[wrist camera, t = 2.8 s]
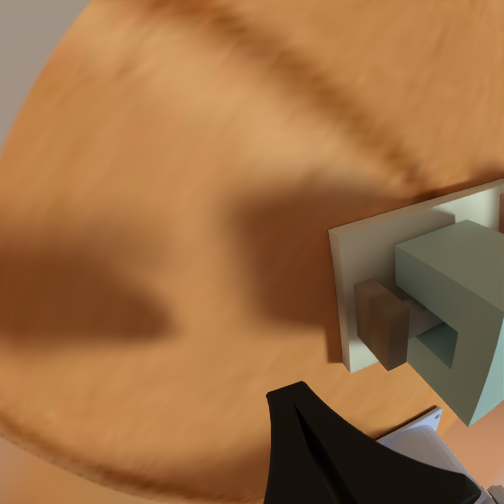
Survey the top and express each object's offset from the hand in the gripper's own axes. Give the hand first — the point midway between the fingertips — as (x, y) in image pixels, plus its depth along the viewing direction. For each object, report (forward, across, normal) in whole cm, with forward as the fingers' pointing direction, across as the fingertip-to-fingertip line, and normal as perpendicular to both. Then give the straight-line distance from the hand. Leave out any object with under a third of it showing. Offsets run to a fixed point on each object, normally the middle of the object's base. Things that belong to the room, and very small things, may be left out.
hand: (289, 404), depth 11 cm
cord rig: (+5, -13, 0) cm, 14 cm away
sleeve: (+3, -9, 0) cm, 10 cm away
